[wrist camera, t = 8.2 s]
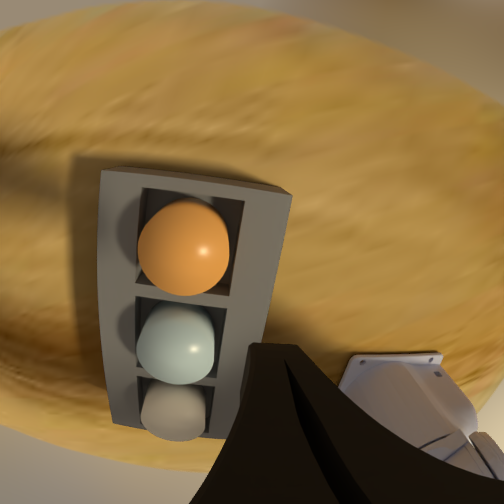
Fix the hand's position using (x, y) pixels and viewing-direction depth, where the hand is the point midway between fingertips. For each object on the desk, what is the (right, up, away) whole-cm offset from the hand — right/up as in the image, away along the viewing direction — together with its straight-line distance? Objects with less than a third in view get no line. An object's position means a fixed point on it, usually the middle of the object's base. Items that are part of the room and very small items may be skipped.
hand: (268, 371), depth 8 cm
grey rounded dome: (-5, -1, +9) cm, 10 cm away
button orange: (-4, +4, +7) cm, 9 cm away
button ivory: (-6, -6, +11) cm, 13 cm away
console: (-5, -1, +11) cm, 12 cm away
